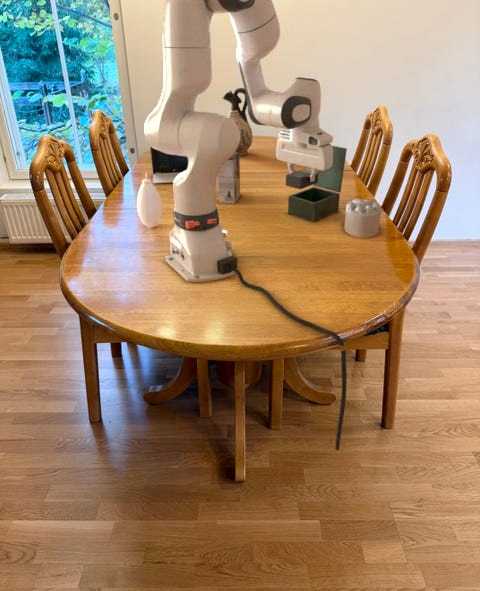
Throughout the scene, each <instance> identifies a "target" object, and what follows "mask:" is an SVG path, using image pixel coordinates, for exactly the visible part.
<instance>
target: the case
mask: <svg viewBox="0 0 480 591" xmlns="http://www.w3.org/2000/svg"><path fill="white" fill-rule="evenodd" d="M340 196H341V193H339V192H335V191H331V190H328V189H324V188H320V187H316V186H311V187H308V188H305V189H304V190H301V191H298V192H296V193H293V194H290V195H288V197H287V198H288V202H287V215H291V216H294V217H297V218H300V219H303V220H305V221H309V222H311V223H315V222H317V221H320V220H322V219H324V218H326V217H329V216H331V215H333V214H336V213H338V212H339V209H340V208H339V207H340V206H339V205H340Z"/></svg>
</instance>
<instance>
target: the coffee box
mask: <svg viewBox="0 0 480 591" xmlns="http://www.w3.org/2000/svg"><path fill="white" fill-rule="evenodd" d="M240 158H241V156H239V153H237V152H235V153H234V154H233V155H232V156H231V157H230V158H229V159H227V160H226V161H225V162H224V163H223V165H222V166H221V168H220V170H219V172H218V175H217V195H218V196H217V197H218V203H225V204H236V202H237V201H238V200H239V198H240V196H241V171H240V170H241V167H240V166H241V165H240V160H241V159H240Z"/></svg>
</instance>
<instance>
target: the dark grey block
mask: <svg viewBox="0 0 480 591" xmlns="http://www.w3.org/2000/svg"><path fill="white" fill-rule="evenodd" d="M296 171H297V172H294V173H291V174H290V173H287V174H286V175H285V187H286V186H287V187H290V188H294V189H296V190H297V189H298V190H302V189H306V188H309V187H310V186H313V184H316V183H318V172H317V174H316V175H315V180H314V181H313V182H310V181H308V176H309V175H311V173H312V171H311V169H310V170H309V169H306V168H302V169H300V170H296Z"/></svg>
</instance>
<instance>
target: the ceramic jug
mask: <svg viewBox="0 0 480 591" xmlns="http://www.w3.org/2000/svg"><path fill="white" fill-rule="evenodd" d="M238 94H243V95H244V102H243V106H242V108H240V104H242V99H241V97H239V95H238ZM221 99H222V100H224V101H227V102H228V103H230V105H231V106H230V107H231V108H230V111H229V112H228V114H227V116H226V117H228V118H231V119H233V120H234V121H235V123H236V125H237V127H238V130H239V135H240V139H239V145H238V148H237V150H236V152H237V153H239V156H240V157H241V156H246V155H247V154H248V150H249V149H250V148H251V146H252V143H253V140H254V139H253V138H254V137H253V136H254V135H253V130H252V127H251V125H250V122H249V121H248V117H247V114H246V111H247V97H246V92H245V88H244V87H239V88H236V89H235V90H234V92H233V91H232V90H229V91H227V92H226V93H225V94H224V95H223V96H222V98H221Z"/></svg>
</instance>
